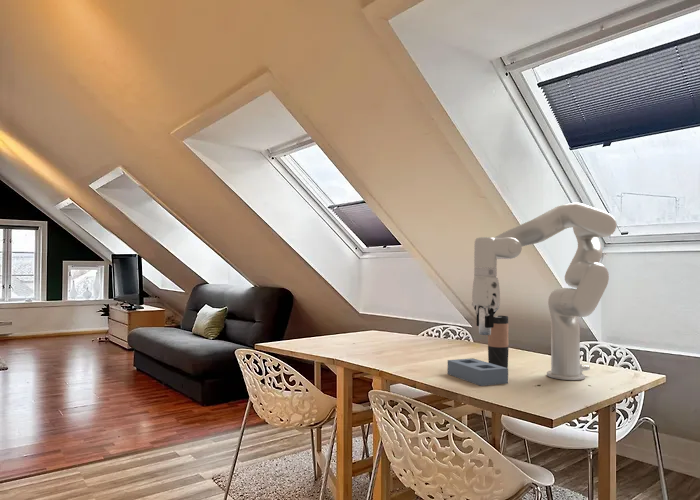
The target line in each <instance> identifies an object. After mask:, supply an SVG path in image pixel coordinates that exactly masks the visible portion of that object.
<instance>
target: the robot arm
mask: <svg viewBox="0 0 700 500" xmlns="http://www.w3.org/2000/svg"><path fill="white" fill-rule="evenodd" d="M569 228H572V230H573V231H572V232H573V233H574V236H575V238H576V242H577V249H576V251H575V253H574V256H573V257H572V260H571V261H570V263H569V265H568V268H567V269H566V271H565V275H564V282H565V284H566V285H568V286H569V287H571V288H569V287H560V288H556V289H554V290H553V291H552V292H550V294H549V296H548V301H547V302H548V303H547V304H548V305H547V306H548V311H549V315H550V316H549V317H550V338H551V339H550V348H551V349H550V352H551V353H550V354H551V355H550V356H551V357H550V360H551V361H550V362H551V363H550V364H551V365H550V366H551V367H550V370H548V371H546V376H547V377H549V378H552V379H557V380H563V381H580V380H581V381H582V380H584V379H586V377H585V376H586V374H584V373H583V372H584V371H589V370H591V366H590V365H589V364H582V363H581V351H580V349H581V348H580V347H581V344H580V343H581V342H580V341H581V340H580V337H581V335H580V334H581V327H580V322H579V319H578V318H586V317H589V316H591V315H592V314H593V313H594V311H595V310H596V309H597V306H598V305H599V303H600V301H601V299H602V297H603V295H604V293H605V290H606V289H607V286H608V284H609V280H610V278H609V277H610V276H609V274H610V273H609V271H608V270H609V269H607V267H606V266H605V265H604V264H602V263H600V261H601V259H602V255H603V248H602V244H601V242H600V239H599V238H607V237H609V236H611V235H613V234H614V232H615V231H616V229H617V221H616V218H615V217H614V216H613V215H612V214H610V213H608V212H607V211H604V210H602V209H598V208H595V207H593V206H589V205H587V204H585V203H581V202H572V203H565V204H560V205H558V206H555V207H552V208H551V209H550V210H548V211H546V212H544V213H542V214H540V215H539V216H537V217H534V218H533V219H531V220H528V221H527V222H524V223H522V224H520V225H517V226H515V227H513V228H510V229H508V230H506V231H503V232H502V233H500V234H498V235H497V236H495V237H490V236H489V237H487V236H486V237H485V236H481V237H476V238H475V239H474V247H473V248H474V250H473V251H474V253H473V254H474V255H473V257H474V259H473V264H474V265H473V267H474V269H473V274H474V275H473V284H472V293H471V294H472V297H471V298H472V302H471V306H472V307H473V309H474V311H475V315H476V326H477V327H479V308H486V315H487V316H485V328H493V327H494V317H496V314H495V313H496V312H497V311H498V310H499V309H500V305H501V293H500V292H501V291H500V290H501V289H500V283H499V278H498V276H497V275H498V271H497V270H498V269H497V268H498V267H497V265H498V261H497V260H511V259H515V258H518V256H520V255H521V253H522V250H523V247H526V246H530V245H535V244H539V243H542V242H545V241H546V240H548V239H550V238H551V237H554V236H555V235H557V234H559V233H560V232H563V231H564V230H567V229H569ZM489 308H491V309H490V310H489Z"/></svg>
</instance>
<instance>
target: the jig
mask: <svg viewBox="0 0 700 500" xmlns="http://www.w3.org/2000/svg"><path fill="white" fill-rule="evenodd" d="M447 375H450V376H451V377H455V378H458V379H461V380H463V381H466V382H470V383H472V384H475V385H478V386H479V387H484V386H494V385H503V384H509V367H508V368H505V367H502V366H498V365H495V364H491V363H488V362H487V361H484V360H480V359H477V358H476V359H475V358H472V357H471V358H460V359H459V358H458V359H447Z"/></svg>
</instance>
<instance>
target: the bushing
mask: <svg viewBox="0 0 700 500" xmlns="http://www.w3.org/2000/svg"><path fill="white" fill-rule="evenodd" d="M490 309H491V308H489V310H490ZM485 316H487V315H486V308H481V307H480V308H479V326H478V335H480V336H488V335H491V328H485Z"/></svg>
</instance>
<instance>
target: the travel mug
mask: <svg viewBox="0 0 700 500" xmlns="http://www.w3.org/2000/svg"><path fill="white" fill-rule="evenodd" d="M509 346H510V345H509V316H508V315H498V316H494V327H493V328H491V335H487V355H488V356H487V357H488V358H487V359H488V363H491V364H495V365H498V366H502V367H505V368H508V369H509Z"/></svg>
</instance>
